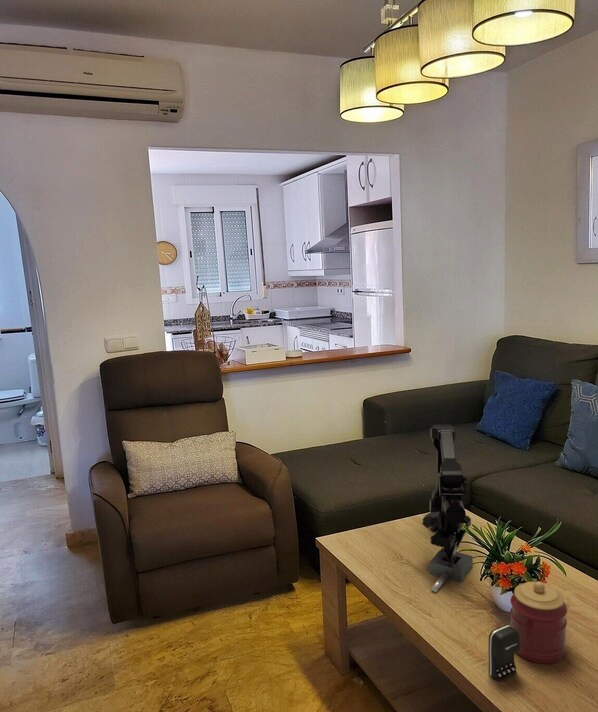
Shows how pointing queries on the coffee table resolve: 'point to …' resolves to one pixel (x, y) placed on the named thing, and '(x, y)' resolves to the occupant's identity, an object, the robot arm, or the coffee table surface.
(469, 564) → the chuck block
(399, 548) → the coffee table surface
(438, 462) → the robot arm
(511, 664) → the battery charger
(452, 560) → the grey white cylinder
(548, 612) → the canister
